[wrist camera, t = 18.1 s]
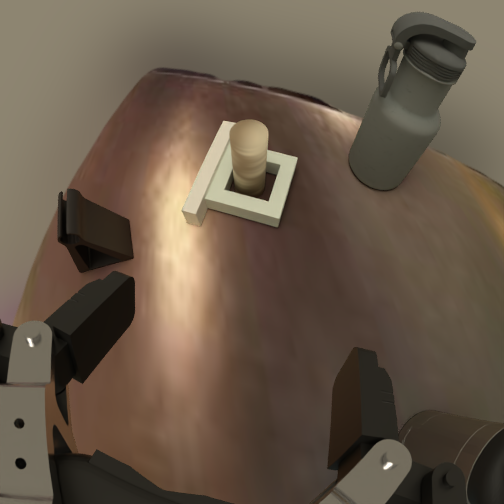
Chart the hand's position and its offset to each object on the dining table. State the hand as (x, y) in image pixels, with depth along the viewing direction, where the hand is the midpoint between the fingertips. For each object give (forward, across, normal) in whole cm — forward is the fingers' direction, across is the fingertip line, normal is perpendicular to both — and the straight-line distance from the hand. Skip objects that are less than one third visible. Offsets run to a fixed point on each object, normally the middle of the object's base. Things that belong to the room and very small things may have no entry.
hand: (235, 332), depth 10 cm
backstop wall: (+36, +12, +5) cm, 38 cm away
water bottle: (+43, -11, -2) cm, 45 cm away
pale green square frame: (+36, +6, +5) cm, 36 cm away
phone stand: (+25, +24, +16) cm, 38 cm away
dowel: (+36, +6, +5) cm, 37 cm away
